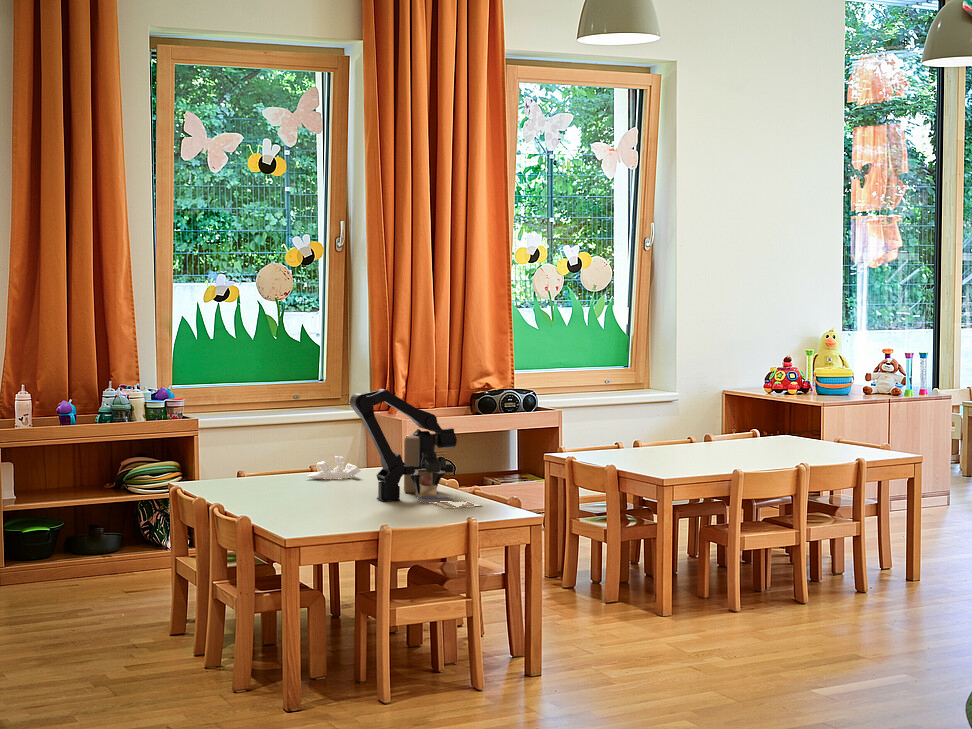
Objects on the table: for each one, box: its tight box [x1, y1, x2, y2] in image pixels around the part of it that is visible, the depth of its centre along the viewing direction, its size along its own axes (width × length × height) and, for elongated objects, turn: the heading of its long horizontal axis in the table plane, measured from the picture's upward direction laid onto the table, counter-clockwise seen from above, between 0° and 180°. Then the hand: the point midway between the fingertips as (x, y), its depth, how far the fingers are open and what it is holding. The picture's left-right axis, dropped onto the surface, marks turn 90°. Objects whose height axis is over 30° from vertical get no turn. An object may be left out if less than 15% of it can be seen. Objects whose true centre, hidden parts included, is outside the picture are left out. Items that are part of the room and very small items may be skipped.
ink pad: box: [417, 494, 453, 504], centre depth 390 cm, size 10×7×2 cm
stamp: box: [415, 476, 438, 498], centre depth 397 cm, size 6×6×8 cm
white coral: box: [306, 455, 361, 480], centre depth 441 cm, size 11×20×9 cm, turn 115°
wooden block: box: [403, 434, 432, 494], centre depth 411 cm, size 10×10×20 cm
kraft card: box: [434, 500, 475, 509], centre depth 382 cm, size 13×11×1 cm
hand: (426, 493), depth 397 cm, fingers closed on stamp, 5 cm apart
